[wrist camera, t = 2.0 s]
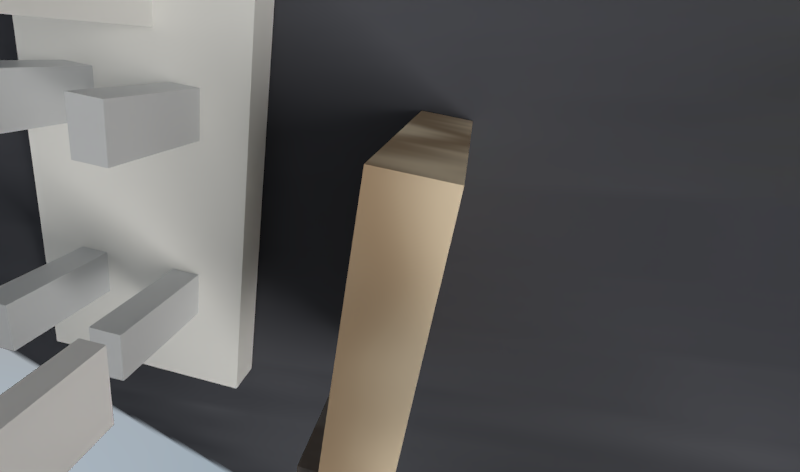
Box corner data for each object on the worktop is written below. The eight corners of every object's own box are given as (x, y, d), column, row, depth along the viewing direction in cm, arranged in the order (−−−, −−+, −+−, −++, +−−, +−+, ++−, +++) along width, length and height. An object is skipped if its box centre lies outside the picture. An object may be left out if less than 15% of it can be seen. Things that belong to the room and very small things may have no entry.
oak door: (472, 121, 22) (464, 185, 11) (417, 356, 28) (375, 557, 16) (401, 106, 22) (324, 155, 11) (361, 341, 28) (282, 530, 17)
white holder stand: (275, -10, 21) (-38, -109, 8) (251, 368, 30) (77, 604, 17) (40, -54, 22) (-555, -201, 10) (82, 323, 31) (-203, 515, 18)
